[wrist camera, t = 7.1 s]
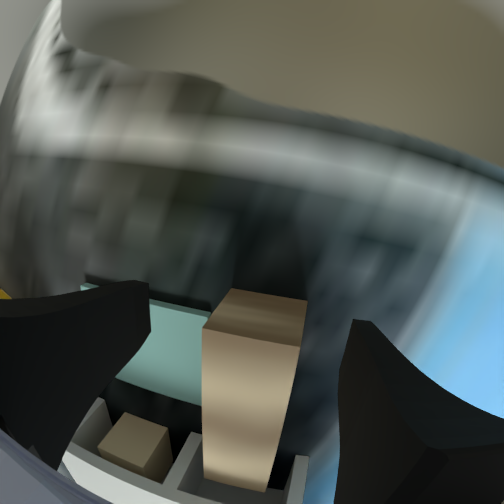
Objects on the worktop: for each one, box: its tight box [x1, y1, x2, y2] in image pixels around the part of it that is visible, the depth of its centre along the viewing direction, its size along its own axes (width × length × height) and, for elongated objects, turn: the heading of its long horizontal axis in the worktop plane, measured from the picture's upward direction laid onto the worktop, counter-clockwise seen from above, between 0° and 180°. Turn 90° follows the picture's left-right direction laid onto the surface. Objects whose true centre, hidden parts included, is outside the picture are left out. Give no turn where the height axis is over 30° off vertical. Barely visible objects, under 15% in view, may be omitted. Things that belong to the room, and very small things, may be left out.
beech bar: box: [202, 288, 308, 493], centre depth 16 cm, size 12×4×4 cm, turn 175°
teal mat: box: [81, 283, 211, 406], centre depth 19 cm, size 7×9×1 cm
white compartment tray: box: [62, 397, 309, 504], centre depth 19 cm, size 7×18×6 cm, turn 85°
